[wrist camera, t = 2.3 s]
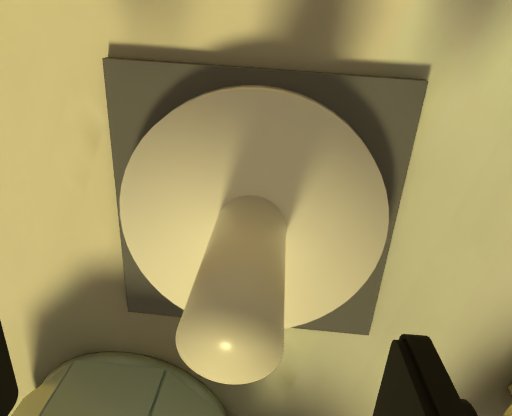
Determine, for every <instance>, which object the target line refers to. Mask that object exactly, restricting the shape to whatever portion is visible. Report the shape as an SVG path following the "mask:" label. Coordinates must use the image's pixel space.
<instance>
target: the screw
mask: <svg viewBox="0 0 512 416" xmlns="http://www.w3.org/2000/svg"><path fill="white" fill-rule="evenodd" d="M508 389H509V391H510V393H511V395H512V384H511V385H509V386H508ZM504 416H512V404H511V405H510V407H509V408H508V409H507V410H506V412H505V414H504Z"/></svg>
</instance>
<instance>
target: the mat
mask: <svg viewBox="0 0 512 416" xmlns="http://www.w3.org/2000/svg"><path fill="white" fill-rule="evenodd" d="M102 59H103V69H104V79H105V89H106V98H107V108H108V118H109V128H110V138H111V148H112V158H113V168H114V178H115V187H116V197H117V207H118V217H119V227H120V237H121V247H122V257H123V267H124V276H125V286H126V296H127V306H128V312H137V313H148V314H158V315H168V316H178V317H182V314H183V311H184V310H183V309H181V308H180V307H178V306H177V305H175V304H174V303H172V302H171V301H170V300H168V299H167V298H166V297H165V296H163V295H162V294H161V293H160V292H159V291H158V290H157V289H156V288H155V287H154V286H153V285H152V284H151V283H150V282H149V281H148V279H147V278H146V277H145V276H144V274H143V273H142V272H141V270H140V269H139V267H138V265H137V264H136V262H135V261H134V259H133V257H132V255H131V253H130V250H129V248H128V246H127V243H126V240H125V237H124V234H123V231H122V225H121V219H120V192H121V184H122V180H123V177H124V173H125V169H126V167H127V165H128V162H129V160H130V158H131V156H132V154H133V152H134V150H135V149H136V147H137V146H138V144H139V143H140V141H141V140H142V138H143V137H144V136H145V135H146V134H147V133H148V132H149V130H150V129H151V128H152V127H153V126H154V125H155V124H157V123H158V122H159V121H160V120H161V119H163V118H164V117H165V116H166V115H167V114H169V113H170V112H171V111H172V110H174V109H175V108H177V107H178V106H180V105H181V104H183V103H185V102H186V101H188V100H189V99H192V98H194V97H196V96H199V95H201V94H203V93H206V92H209V91H212V90H216V89H220V88H223V87H230V86H238V85H265V86H272V87H279V88H283V89H287V90H291V91H294V92H298V93H300V94H303V95H305V96H307V97H309V98H312V99H314V100H316V101H318V102H320V103H321V104H323V105H325V106H326V107H328V108H329V109H331V110H333V111H334V112H335V113H336V114H337V115H339V116H340V117H341V118H342V119H344V120H345V121H346V122H347V123H348V124H349V125H350V126H351V127H352V129H353V130H354V131H355V132H356V133H357V134H358V135H359V137H360V138H361V139H362V141H363V142H364V144H365V145H366V147H367V148H368V150H369V152H370V153H371V155H372V157H373V158H374V160H375V163H376V165H377V167H378V169H379V171H380V173H381V175H382V179H383V182H384V185H385V188H386V192H387V199H388V206H389V225H388V232H387V238H386V242H385V245H384V248H383V252H382V255H381V257H380V259H379V261H378V263H377V265H376V267H375V269H374V271H373V272H372V274H371V275H370V277H369V278H368V280H367V281H366V282H365V283H364V285H363V286H362V287H361V288H360V289H359V290H358V291H357V293H355V294H354V295H353V296H352V297H351V298H350V299H349V300H347V301H346V302H345V303H344V304H342V305H341V306H339V307H338V308H336V309H335V310H334V311H332V312H330V313H328V314H326V315H324V316H322V317H320V318H318V319H316V320H313V321H311V322H308V323H305V324H302V325H298V326H294V327H291V328H299V329H309V330H319V331H330V332H340V333H350V334H360V335H369V332H370V327H371V323H372V319H373V315H374V310H375V306H376V302H377V297H378V293H379V289H380V285H381V280H382V276H383V272H384V268H385V263H386V259H387V255H388V251H389V246H390V242H391V238H392V234H393V229H394V225H395V221H396V216H397V212H398V208H399V204H400V199H401V195H402V191H403V187H404V182H405V178H406V174H407V170H408V165H409V161H410V157H411V152H412V148H413V144H414V140H415V135H416V131H417V127H418V123H419V118H420V114H421V110H422V106H423V101H424V97H425V93H426V89H427V84H428V81H426V80H423V79H409V78H395V77H380V76H366V75H352V74H338V73H323V72H309V71H295V70H281V69H266V68H252V67H238V66H224V65H209V64H195V63H181V62H167V61H152V60H138V59H124V58H110V57H106V58H102Z"/></svg>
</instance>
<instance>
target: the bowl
mask: <svg viewBox="0 0 512 416" xmlns="http://www.w3.org/2000/svg"><path fill="white" fill-rule="evenodd" d="M11 416H227V414H226V412H225V409H224V408H223V406H222V405H221V403H220V401H219V400H218V399H217V398H216V396H215V395H214V394H213V393H212V392H211V391H210V390H209V389H208V388H207V387H206V386H205V385H204V384H203V383H201V382H200V381H199V380H197V379H196V378H195V377H193V376H192V375H190V374H188V373H187V372H185V371H183V370H182V369H180V368H178V367H175V366H173V365H171V364H169V363H167V362H164V361H161V360H158V359H155V358H152V357H148V356H144V355H140V354H133V353H126V352H98V353H91V354H86V355H82V356H79V357H75V358H73V359H70V360H68V361H66V362H64V363H62V364H61V365H59V366H58V367H56V368H55V369H54V370H53V371H52V372H51V373H49V374H48V376H47V377H46V378H45V380H44V381H43V383H42V384H41V385H40V386H39V387H38V388H36V389H35V390H34V391H32V392H31V393H30V394H28V395H27V396H26V397H25V398H23V400H22V401H21V403H20V404H19V405H18V407H17V408H16V410H15V411H14V413H13V414H12V415H11Z"/></svg>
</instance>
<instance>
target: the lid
mask: <svg viewBox="0 0 512 416" xmlns="http://www.w3.org/2000/svg"><path fill="white" fill-rule="evenodd" d="M120 219H121V225H122V231H123V234H124V237H125V240H126V243H127V246H128V248H129V250H130V253H131V255H132V257H133V259H134V261H135V262H136V264H137V265H138V267H139V269H140V270H141V272H142V273H143V274H144V276H145V277H146V278H147V279H148V281H149V282H150V283H151V284H152V285H153V286H154V287H155V288H156V289H157V290H158V291H159V292H160V293H161V294H162V295H163V296H165V297H166V298H167V299H168V300H170V301H171V302H172V303H174V304H175V305H177V306H178V307H180V308H181V309H183V310H184V311H183V314H182V317H181V320H180V322H179V325H178V328H177V331H176V347H177V350H178V353H179V355H180V357H181V358H182V360H183V361H184V362H185V363H186V365H187V366H188V367H189V368H191V369H192V370H193V371H194V372H196V373H197V374H199V375H200V376H202V377H204V378H206V379H209V380H212V381H214V382H218V383H223V384H234V385H235V384H247V383H251V382H255V381H258V380H260V379H262V378H264V377H266V376H267V375H269V374H270V373H271V372H272V371H274V370H275V368H276V367H277V366H278V364H279V363H280V361H281V358H282V355H283V347H284V328H291V327H294V326H298V325H302V324H305V323H308V322H311V321H313V320H316V319H318V318H320V317H322V316H324V315H326V314H328V313H330V312H332V311H334V310H335V309H336V308H338V307H339V306H341V305H342V304H344V303H345V302H346V301H347V300H349V299H350V298H351V297H352V296H353V295H354V294H355V293H357V291H358V290H359V289H360V288H361V287H362V286H363V285H364V283H365V282H366V281H367V280H368V278H369V277H370V275H371V274H372V272H373V271H374V269H375V267H376V265H377V263H378V261H379V259H380V257H381V255H382V252H383V248H384V245H385V242H386V238H387V232H388V225H389V206H388V199H387V192H386V188H385V185H384V182H383V179H382V175H381V173H380V171H379V169H378V167H377V165H376V163H375V160H374V158H373V157H372V155H371V153H370V152H369V150H368V148H367V147H366V145H365V144H364V142H363V141H362V139H361V138H360V137H359V135H358V134H357V133H356V132H355V131H354V130H353V129H352V127H351V126H350V125H349V124H348V123H347V122H346V121H345V120H344V119H342V118H341V117H340V116H339V115H337V114H336V113H335V112H334V111H333V110H331V109H329V108H328V107H326V106H325V105H323V104H321V103H320V102H318V101H316V100H314V99H312V98H309V97H307V96H305V95H303V94H300V93H298V92H294V91H291V90H287V89H283V88H279V87H272V86H265V85H238V86H230V87H223V88H220V89H216V90H212V91H209V92H206V93H203V94H201V95H199V96H196V97H194V98H192V99H189V100H188V101H186V102H185V103H183V104H181V105H180V106H178V107H177V108H175V109H174V110H172V111H171V112H170V113H169V114H167V115H166V116H165V117H164V118H163V119H161V120H160V121H159V122H158V123H157V124H155V125H154V126H153V127H152V128H151V129H150V130H149V132H148V133H147V134H146V135H145V136H144V137H143V138H142V140H141V141H140V143H139V144H138V146H137V147H136V149H135V150H134V152H133V154H132V156H131V158H130V160H129V162H128V165H127V167H126V169H125V173H124V177H123V180H122V184H121V192H120Z"/></svg>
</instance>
